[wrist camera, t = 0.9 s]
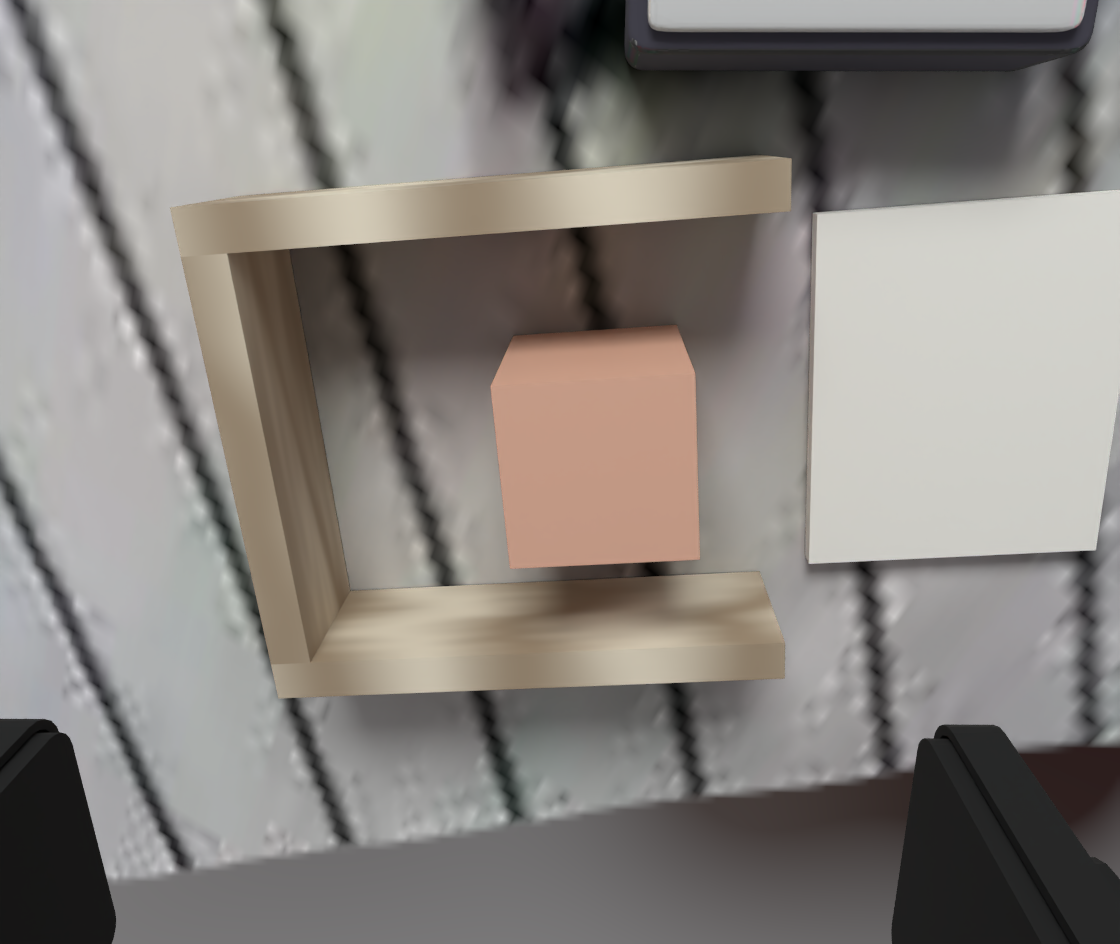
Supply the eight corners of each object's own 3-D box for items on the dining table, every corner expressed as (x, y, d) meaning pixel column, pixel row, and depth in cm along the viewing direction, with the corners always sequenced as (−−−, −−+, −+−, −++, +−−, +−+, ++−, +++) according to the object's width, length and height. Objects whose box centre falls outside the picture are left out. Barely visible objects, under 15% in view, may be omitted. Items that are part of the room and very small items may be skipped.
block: (676, 324, 27) (695, 373, 22) (681, 477, 29) (700, 559, 23) (513, 335, 27) (490, 386, 22) (528, 485, 29) (510, 568, 24)
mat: (1136, 188, 25) (1148, 189, 25) (1085, 542, 29) (1095, 550, 28) (812, 212, 26) (817, 214, 25) (805, 555, 30) (808, 564, 29)
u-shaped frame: (760, 154, 25) (791, 158, 21) (759, 602, 30) (784, 678, 26) (239, 196, 26) (169, 207, 22) (322, 622, 31) (278, 698, 27)
